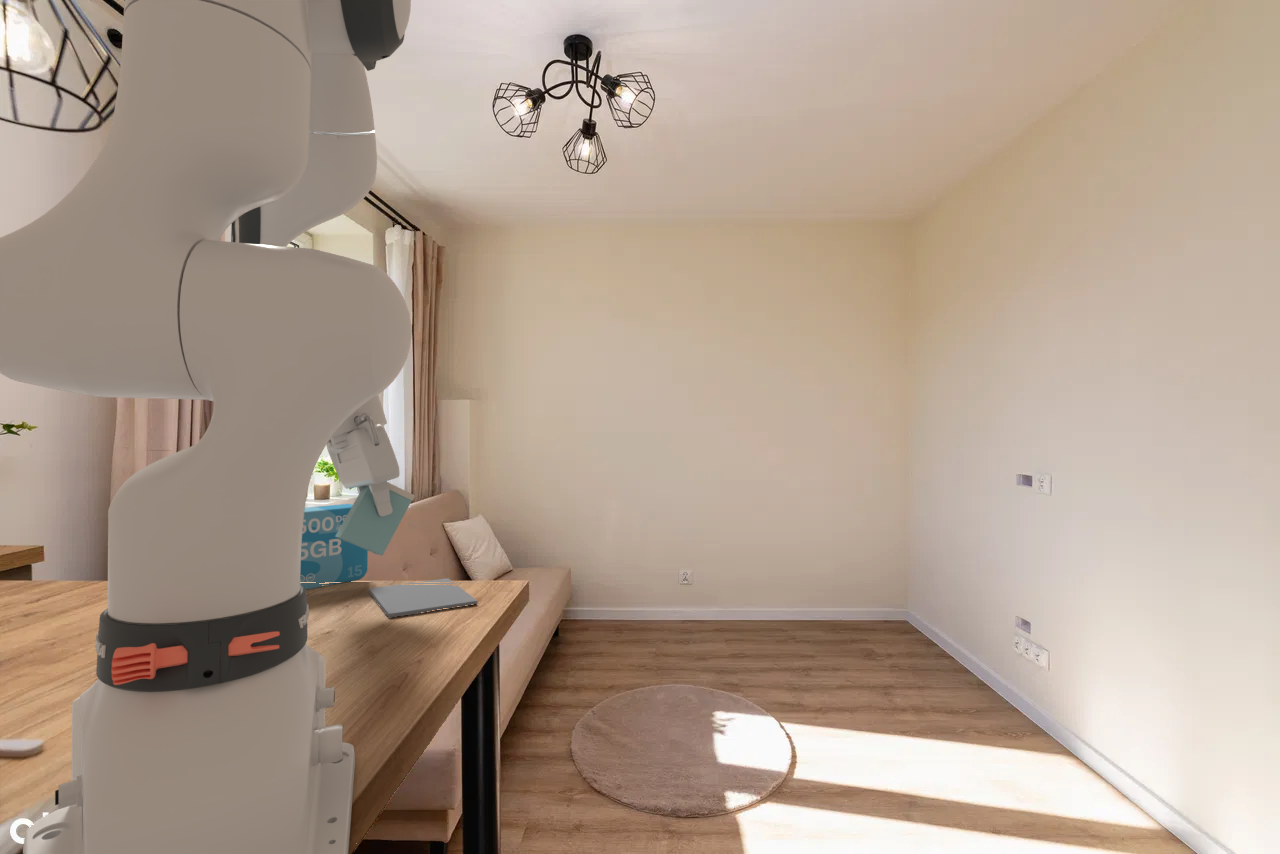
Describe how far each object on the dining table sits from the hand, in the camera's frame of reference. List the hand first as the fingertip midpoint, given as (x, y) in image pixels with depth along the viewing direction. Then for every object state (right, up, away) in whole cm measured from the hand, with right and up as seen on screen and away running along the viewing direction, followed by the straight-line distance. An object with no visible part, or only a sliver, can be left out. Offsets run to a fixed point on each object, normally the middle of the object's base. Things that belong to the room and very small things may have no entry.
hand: (380, 515), depth 88 cm
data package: (-14, -13, +12) cm, 22 cm away
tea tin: (-2, -4, -2) cm, 5 cm away
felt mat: (+4, -13, +4) cm, 14 cm away
